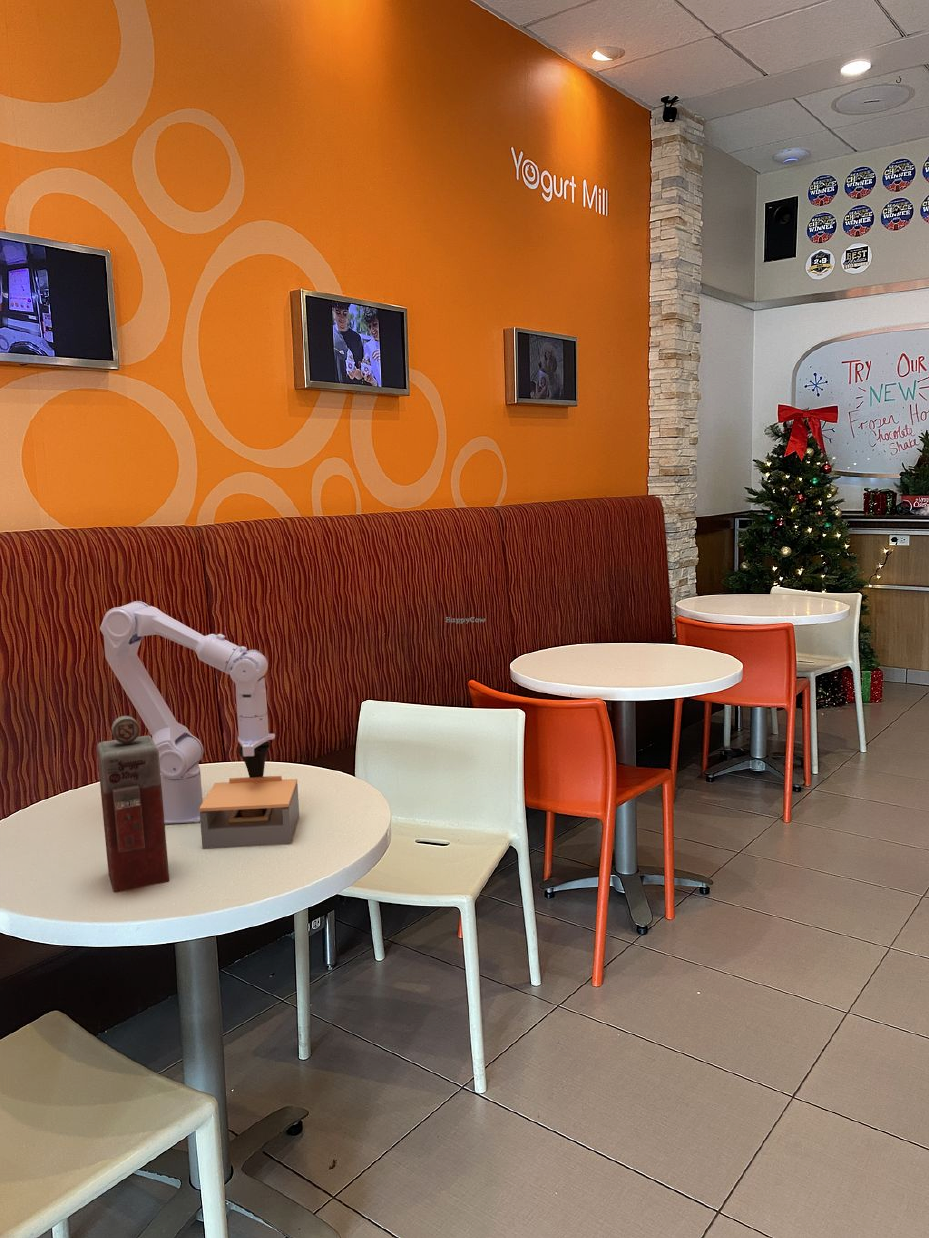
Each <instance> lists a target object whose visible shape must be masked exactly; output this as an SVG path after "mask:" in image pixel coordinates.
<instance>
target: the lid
mask: <svg viewBox="0 0 929 1238" xmlns="http://www.w3.org/2000/svg"><path fill="white" fill-rule="evenodd" d="M282 776H283V775H268V776H267V775H266V776H263V777H249V776H248V777H230V778H229V779H228V781H226V782H225V781H224V782H214V783H213V785H212V787H211V788H210V790H209V792H208V793H207V794H206V796H205V798H204V800H203V803H202V805H201V806H200V808H199V811H219V810H239V809H259V808H280V807H289V805H290V802H291V799H292V796H293V793H294V790H295V787H296V784H298V779H297V778H293V779H292V778H290V779H289V778H288V779H287V778H286V779H282V778H283V777H282Z"/></svg>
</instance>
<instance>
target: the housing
mask: <svg viewBox="0 0 929 1238" xmlns="http://www.w3.org/2000/svg"><path fill="white" fill-rule="evenodd" d="M298 787H299V786H298V783H297V784H296V787H295V790H294V793H293V796H292V799H291V802H290V805H289V807H280V808H262V811H263V816H260V817H241V809H239V810H219V811H201V812H200V822H199V823H200V832H201V833H200V834H201V847H202V848H201V849H221V848H224V849H225V848H237V847H240V848H241V847H242V848H243V847H255V846H257V847H261V846H277V845H279V846H280V845H291V844H292V842H293V840H294V839H293V838H294V836H295V831H296V829H297V825H298V822H299V819H300V804H299V789H298Z"/></svg>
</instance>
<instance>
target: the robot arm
mask: <svg viewBox="0 0 929 1238" xmlns="http://www.w3.org/2000/svg"><path fill="white" fill-rule="evenodd" d="M99 629H100V630H99V631H100V632H101V634H102V635H103V644H104V645H103V647H104V657H105V660H106V661H107V663H108V665H109V667H110V669H111V671H112V672H113V673H114V675H115V678H116V679H117V680H118V682H119V683H120V685H121V686H122V689H123V690H124V691H125V693H126V695H127V696H128V699H129V700H130V701H131V703H132V705H133V706H134V708H135V710H136V712H137V714H138V715H139V717H140V718H141V720H142V721H143V724H144V726H145V727H146V728H147V730H148V732H149V733H150V735H151V738H152V740H153V742H154V743H155V745H156V747H157V749H158V752H159V761H160V773H161V785H162V797H163V809H164V821H165V825H166V824H167V825H168V824H185V823H187V824H189V823H200V812H201V811H199V808H200V806H201V805H202V803H203V801H204V800H203V789H202V777H201V768H200V765H199V764H200V763H199V761H201V759H202V758H203V756H204V755H203V754H204V745H203V744H202V742H201V741H200V739H199V738H197V736H194V735H193V734H192V733H191V732H190V731H189V729H188V727H186V726H185V725H183V724H181V723H180V722H178V721H177V719H176V718H175V716H174V714H173V713H172V711H171V710H170V708H169V706H168V704H167V703H166V700H165V699H164V697H163V695H162V694H161V693H160V691H159V689H158V688H157V686H156V685H155V683H154V681H153V679H152V678H151V676H150V674H149V672H148V671H147V668H146V667H145V666H144V664H143V662H142V661H141V659H140V656H139V655H138V651H139V647H140V646H141V642H142V639H143V638H144V637H145V636H146V637H148V636H154V635H155V636H156V635H158V636H160V637H163V638H164V639H167V640H169V641H171V642H174V643H176V644H178V645H180V646H182V647H184V648H185V647H186V648H188V649H190V650H192V651H194V652H195V653H196V656H197V658H198V660H199V661H201V662H203V663H205V664H207V665H209V666H210V667H213V668H215V669H217V670H219V671H220V672H223V673H225V674H227V675H229V677H230V679H231V680H232V682H233V683H234V684H235V698H236V699H235V701H236V717H237V730H238V736H237V742H238V743H239V744H240V747H239V748H238V753H239V756H240V757H241V758H242V760H243V762H244V764H245V767H246V770H247V773H248V777H264V772H265V764H266V759H267V755H268V750H269V749H270V746H271V742H268V741H271V740H274V739H275V738H276V734H275V733H269V721H268V720H269V719H268V703H267V701H268V700H267V690H266V678H265V674H266V673H267V671H268V667H269V665H268V659H267V658H266V656H265V655H264V654H263V653H261V652H260V651H259V650H258V649H249V650H248V648H247V647H246V646H244V645H242V646H239V645H237V644H235V643H233V642H230V641H229V640H227V639H225V638H226V635H224V634H223V633H222V634H221V633H218V634H215V633H210V634H207V635H203V634H202V633H200V632H197V631H196V630H194V628H193V629H192V628H191V627H189V626H187V625H186V624H183V623H182V622H180V621H178V620H176V619H174V618H173V617H171V616H170V615H167V614H166V613H164V612H163V611H161V610H160V609H159V608H157V607H156V606H152V605H149V604H147V603H146V602H143V601H140V600H136V601H135V600H134V601H131V602H129V603H127V604H125V605H122V606H117V607H112V608H111V609H109V610H107V612H106V613H105V614H104V616H103V620H102V622H101V624H100V626H99Z"/></svg>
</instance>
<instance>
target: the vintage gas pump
mask: <svg viewBox="0 0 929 1238" xmlns="http://www.w3.org/2000/svg"><path fill="white" fill-rule="evenodd" d="M140 729H141V728H140V726H139V723H138V722H137V720H136V719H135V718H134V717H132V716H130V715H122V716H119V717H117V718H116V719H114V721H113V722H112V725H111V733H112V736H113V738H114V739H112V740H106V741H100V742H98V743H97V745H96V753H97V765H98V776H99V785H100V796H101V797H100V798H101V807H102V820H103V829H104V839H105V840H104V841H105V851H106V862H107V873H108V877H109V881H110V885H111V889H112V892H113V893H119V892H123V891H125V892H126V891H128V890H129V891H130V890H134V889H139V888H145V887H148V886H154V885H157V884H162V883H167V882H170V870H169V859H168V847H167V835H166V834H167V833H166V824H165V821H164V809H163V797H162V785H161V773H160V761H159V752H158V749H157V747H156V745H155V743H154V742H153V740H152V736H150V735H141V736H139V734H140Z"/></svg>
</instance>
